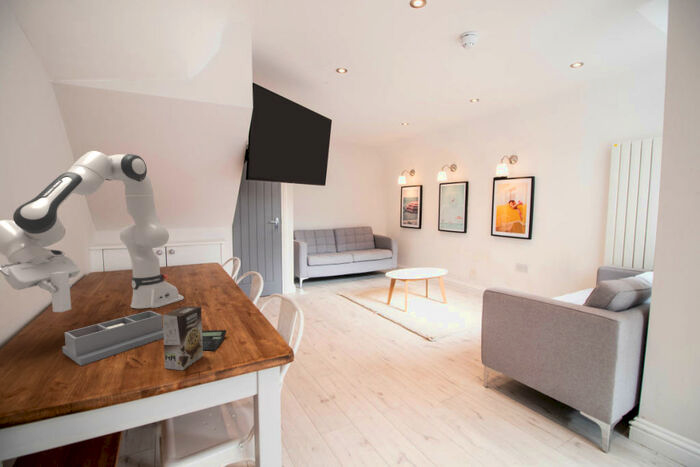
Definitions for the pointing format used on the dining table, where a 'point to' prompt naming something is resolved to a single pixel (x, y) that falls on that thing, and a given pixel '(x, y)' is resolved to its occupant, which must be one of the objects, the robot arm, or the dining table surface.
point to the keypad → (112, 337)
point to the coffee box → (182, 337)
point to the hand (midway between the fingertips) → (62, 289)
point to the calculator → (212, 339)
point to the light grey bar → (61, 291)
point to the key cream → (115, 326)
